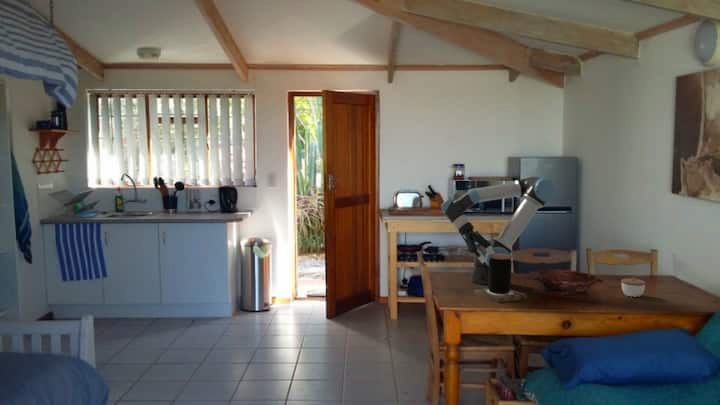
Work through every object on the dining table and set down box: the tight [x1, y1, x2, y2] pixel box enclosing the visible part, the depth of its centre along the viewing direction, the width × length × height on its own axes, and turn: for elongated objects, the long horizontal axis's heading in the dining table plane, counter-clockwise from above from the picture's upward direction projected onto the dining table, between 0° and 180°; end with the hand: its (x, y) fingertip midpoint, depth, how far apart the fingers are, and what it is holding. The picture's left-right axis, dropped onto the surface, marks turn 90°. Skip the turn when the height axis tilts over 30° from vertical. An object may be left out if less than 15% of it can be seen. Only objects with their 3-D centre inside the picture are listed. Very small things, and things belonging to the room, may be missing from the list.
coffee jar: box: [487, 253, 513, 294], centre depth 288 cm, size 11×11×18 cm
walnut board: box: [473, 287, 528, 304], centre depth 288 cm, size 18×18×2 cm
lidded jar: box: [621, 277, 646, 297], centre depth 292 cm, size 11×11×9 cm
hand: (490, 259), depth 289 cm, fingers open, 12 cm apart
